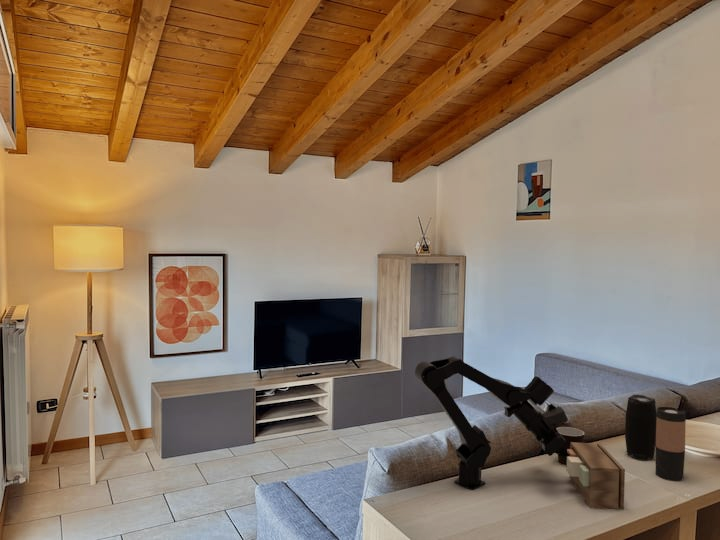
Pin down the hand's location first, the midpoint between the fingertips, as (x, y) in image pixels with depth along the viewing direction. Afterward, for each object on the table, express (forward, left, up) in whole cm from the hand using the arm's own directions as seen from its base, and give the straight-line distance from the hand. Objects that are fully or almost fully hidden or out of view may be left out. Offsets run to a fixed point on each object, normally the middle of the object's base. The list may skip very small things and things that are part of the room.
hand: (567, 456), depth 156 cm
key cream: (-3, -5, -3) cm, 7 cm away
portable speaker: (+38, -6, -8) cm, 39 cm away
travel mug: (+28, -18, -8) cm, 34 cm away
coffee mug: (+14, +8, -8) cm, 18 cm away
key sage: (-7, -10, -3) cm, 13 cm away
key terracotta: (+2, -2, -3) cm, 4 cm away
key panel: (-1, -8, -8) cm, 11 cm away
